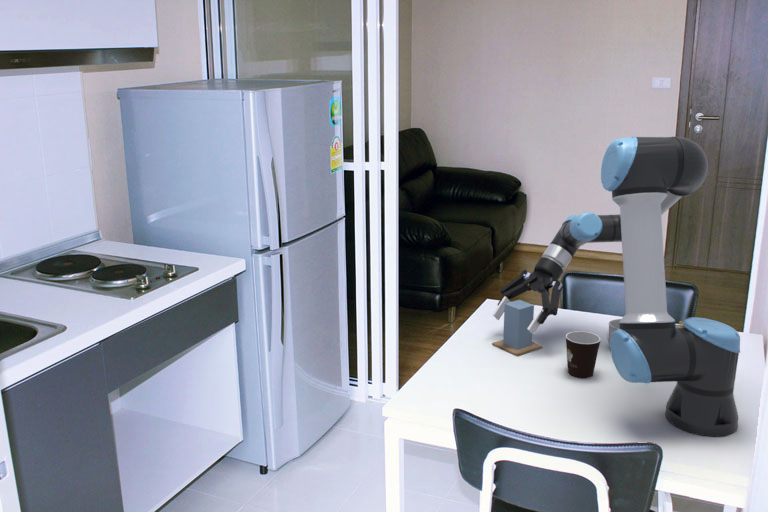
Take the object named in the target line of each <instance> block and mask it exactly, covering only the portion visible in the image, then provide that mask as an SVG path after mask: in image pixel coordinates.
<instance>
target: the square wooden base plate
mask: <svg viewBox="0 0 768 512" xmlns="http://www.w3.org/2000/svg"><path fill="white" fill-rule="evenodd" d="M491 346H493V347H496V348H498V349H500V350H502V351H504V352H506V353H508V354H511V355H514V356H515V357H519V356H523V355H526V354H528V353H531V352H535V351H537V350H540V349H543V347H544V346H543V345H541V344H539V343H537V342H535V341H532V345H531V346H528V347H525V348H522V349H519V350H516V349H514V348H512V347H510V346H507V345H505V344H503V339H500V340H497V341H494V342H492V343H491Z"/></svg>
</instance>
